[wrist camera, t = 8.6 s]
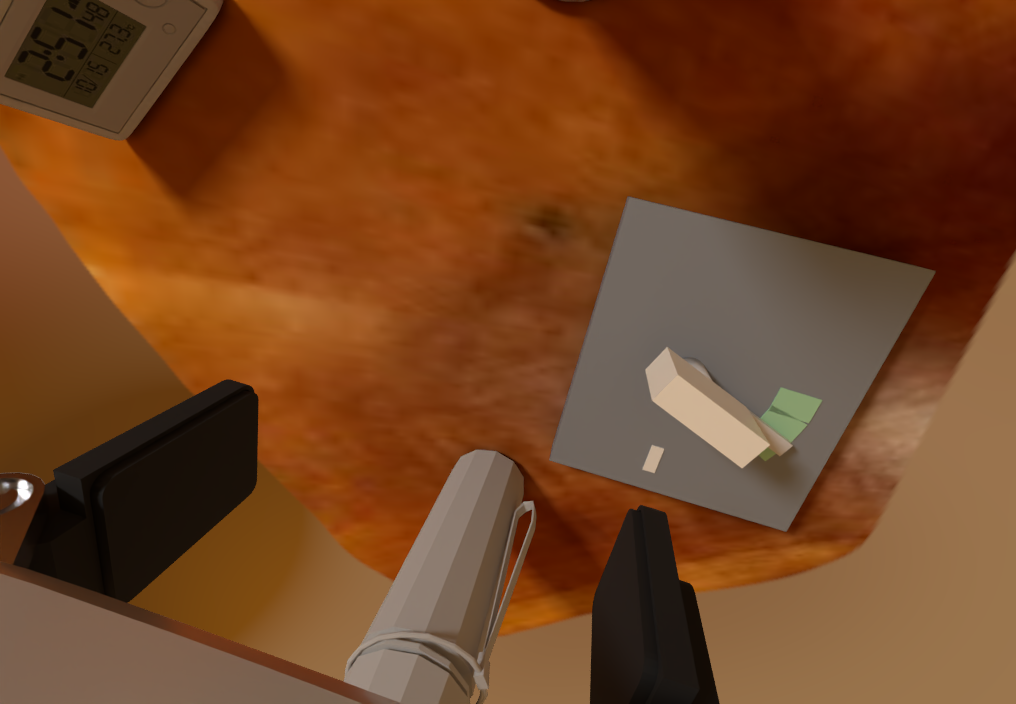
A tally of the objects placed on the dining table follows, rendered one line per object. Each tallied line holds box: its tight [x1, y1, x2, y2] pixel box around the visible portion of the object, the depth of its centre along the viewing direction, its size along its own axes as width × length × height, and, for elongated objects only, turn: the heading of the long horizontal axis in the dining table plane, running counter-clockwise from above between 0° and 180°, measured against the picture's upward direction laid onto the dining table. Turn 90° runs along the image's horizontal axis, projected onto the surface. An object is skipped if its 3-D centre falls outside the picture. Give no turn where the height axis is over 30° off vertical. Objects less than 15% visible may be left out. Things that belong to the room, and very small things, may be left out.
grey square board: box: [550, 196, 936, 532], centre depth 36 cm, size 22×20×3 cm
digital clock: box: [0, 0, 223, 140], centre depth 32 cm, size 16×9×11 cm, turn 116°
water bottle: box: [343, 450, 536, 704], centre depth 33 cm, size 9×8×25 cm
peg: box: [645, 347, 793, 468], centre depth 32 cm, size 12×2×8 cm, turn 55°
